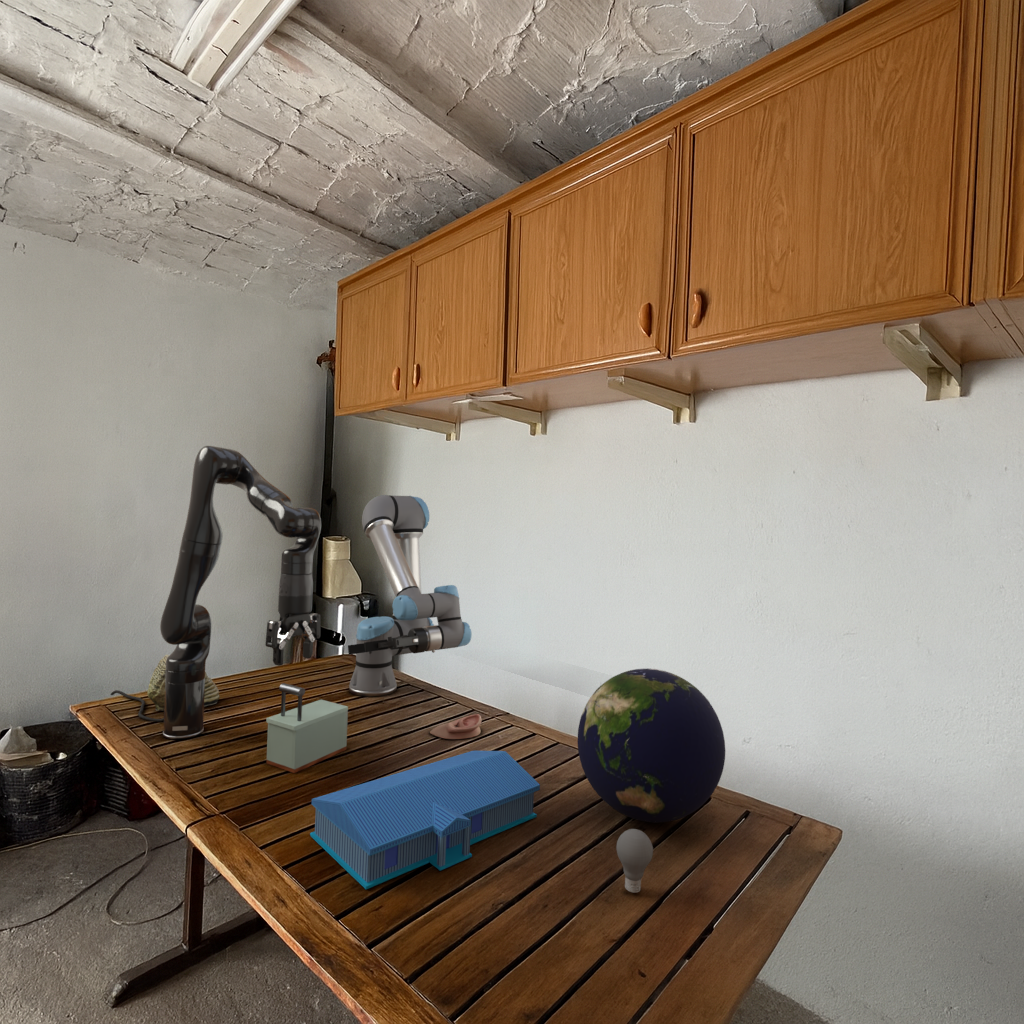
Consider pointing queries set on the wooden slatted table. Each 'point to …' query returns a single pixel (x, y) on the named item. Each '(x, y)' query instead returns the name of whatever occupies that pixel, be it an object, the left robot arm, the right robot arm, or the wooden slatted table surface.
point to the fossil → (158, 687)
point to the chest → (306, 743)
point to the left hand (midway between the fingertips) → (293, 661)
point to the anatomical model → (459, 728)
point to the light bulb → (634, 857)
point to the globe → (651, 745)
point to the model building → (423, 815)
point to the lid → (303, 710)
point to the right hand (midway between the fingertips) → (356, 648)
